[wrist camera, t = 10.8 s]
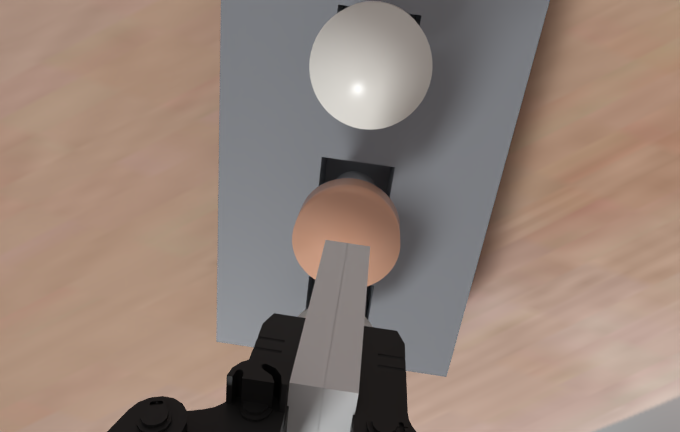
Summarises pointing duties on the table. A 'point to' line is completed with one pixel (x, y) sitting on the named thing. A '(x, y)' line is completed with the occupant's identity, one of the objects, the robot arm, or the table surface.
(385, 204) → the terracotta plunger
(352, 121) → the plunger
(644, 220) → the table surface
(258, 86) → the console
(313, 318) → the robot arm
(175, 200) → the table surface
